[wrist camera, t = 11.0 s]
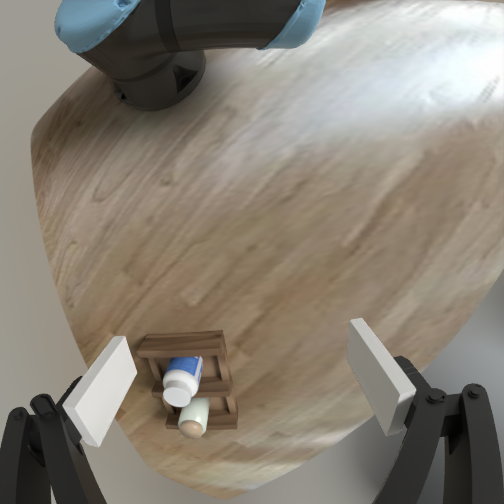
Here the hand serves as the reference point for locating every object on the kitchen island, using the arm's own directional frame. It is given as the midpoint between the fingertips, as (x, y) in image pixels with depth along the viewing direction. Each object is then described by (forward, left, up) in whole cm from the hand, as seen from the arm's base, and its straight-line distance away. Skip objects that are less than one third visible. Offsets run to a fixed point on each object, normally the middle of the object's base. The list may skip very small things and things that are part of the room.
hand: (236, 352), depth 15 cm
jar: (+26, -11, -26) cm, 38 cm away
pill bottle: (+17, -11, -26) cm, 33 cm away
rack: (+21, -11, -27) cm, 36 cm away
